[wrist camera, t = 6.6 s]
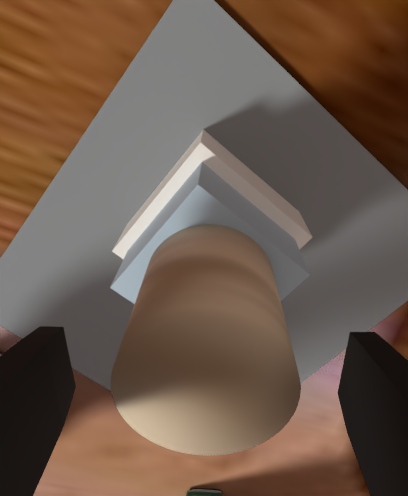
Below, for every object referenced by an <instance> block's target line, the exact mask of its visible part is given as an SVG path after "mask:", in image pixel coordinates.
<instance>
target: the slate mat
mask: <svg viewBox="0 0 408 496" xmlns="http://www.w3.org/2000/svg"><path fill="white" fill-rule="evenodd" d="M203 129H204V130H205V131H206V132H207V133H208V134H210V135H211V136H212V137H213V138H214V139H215V140H217V141H218V142H219V143H220V144H221V145H222V146H223V147H225V148H226V149H227V150H228V151H229V152H230V153H232V154H233V155H234V156H235V157H236V158H237V159H239V160H240V161H241V162H242V163H243V164H244V165H246V166H247V167H248V168H249V169H250V170H251V171H253V172H254V173H255V174H256V175H257V176H258V177H260V178H261V179H262V180H263V181H264V182H265V183H267V184H268V185H269V186H270V187H271V188H272V189H273V190H275V191H276V192H277V193H278V194H279V195H280V196H282V197H283V198H284V199H285V200H286V201H287V202H289V203H290V204H291V205H292V206H293V207H294V208H296V209H297V210H298V211H299V212H300V214H301V216H302V218H303V220H304V222H305V224H306V226H307V228H308V229H309V231H310V233H311V235H312V238H311V239H310V240H309V241H308V242H307V243H306V244H305V245H304V246H303V247H302V248H301V249H300V252H301V255H302V257H303V260H304V262H305V264H306V267H307V269H308V271H309V274H310V276H308V277H307V278H306V279H305V280H304V281H303V282H302V283H301V284H299V285H298V286H297V287H296V288H295V289H294V290H293V291H292V292H291V293H289V294H288V295H287V296H286V297H285V298H284V299H283V300H282V301H281V305H282V309H283V313H284V317H285V321H286V325H287V329H288V333H289V337H290V341H291V345H292V349H293V353H294V357H295V361H296V365H297V369H298V373H299V377H300V383H301V382H303V381H304V380H305V379H307V378H308V377H309V376H310V375H312V374H313V373H314V372H316V371H317V370H318V369H320V368H321V367H322V366H323V365H325V364H326V363H327V362H329V361H330V360H331V359H332V358H334V357H335V356H336V355H338V354H339V353H340V352H342V351H343V350H344V349H345V348H347V344H348V339H349V334H350V332H368V331H369V330H370V329H371V328H373V327H374V326H375V325H377V324H378V323H379V322H381V321H382V320H383V319H384V318H386V317H387V316H388V315H390V314H391V313H392V312H394V311H395V310H396V309H397V308H399V307H400V306H401V305H403V304H404V303H405V302H407V301H408V190H407V189H406V188H405V187H404V186H403V185H402V184H401V183H400V182H399V181H398V180H397V179H396V178H395V177H394V176H393V175H392V174H391V173H390V172H389V171H388V170H387V169H386V168H385V167H384V166H383V165H382V164H381V163H380V162H379V161H378V160H377V159H376V158H375V157H374V156H373V155H372V154H371V153H369V152H368V151H367V150H366V149H365V148H364V147H363V146H362V145H361V144H360V143H359V142H358V141H357V140H356V139H355V138H354V137H353V136H352V135H351V134H350V133H349V132H348V131H347V130H346V129H345V128H344V127H343V126H342V125H341V124H340V123H339V122H338V121H337V120H336V119H335V118H334V117H333V116H332V115H331V114H330V113H329V112H328V111H327V110H326V109H325V108H324V107H322V106H321V105H320V104H319V103H318V102H317V101H316V100H315V99H314V98H313V97H312V96H311V95H310V94H309V93H308V92H307V91H306V90H305V89H304V88H303V87H302V86H301V85H300V84H299V83H298V82H297V81H296V80H295V79H294V78H293V77H292V76H291V75H290V74H289V73H288V72H287V71H286V70H285V69H284V68H283V67H282V66H281V65H280V64H279V63H278V62H276V61H275V60H274V59H273V58H272V57H271V56H270V55H269V54H268V53H267V52H266V51H265V50H264V49H263V48H262V47H261V46H260V45H259V44H258V43H257V42H256V41H255V40H254V39H253V38H252V37H251V36H250V35H249V34H248V33H247V32H246V31H245V30H244V29H243V28H242V27H241V26H240V25H239V24H238V23H237V22H236V21H235V20H234V19H233V18H232V17H231V16H229V15H228V14H227V13H226V12H225V11H224V10H223V9H222V8H221V7H220V6H219V5H218V4H217V3H216V2H215V1H214V0H173V1H172V3H171V4H170V6H169V7H168V9H167V10H166V12H165V13H164V15H163V16H162V18H161V19H160V21H159V22H158V24H157V25H156V27H155V28H154V30H153V31H152V33H151V34H150V36H149V37H148V39H147V40H146V42H145V43H144V45H143V46H142V48H141V49H140V51H139V52H138V54H137V55H136V57H135V58H134V60H133V61H132V63H131V64H130V66H129V67H128V69H127V70H126V72H125V73H124V75H123V76H122V78H121V79H120V81H119V82H118V84H117V85H116V87H115V88H114V90H113V91H112V93H111V94H110V96H109V97H108V99H107V100H106V102H105V103H104V105H103V106H102V108H101V109H100V111H99V112H98V114H97V115H96V117H95V118H94V120H93V121H92V123H91V124H90V125H89V127H88V128H87V130H86V131H85V133H84V134H83V136H82V137H81V139H80V140H79V142H78V143H77V145H76V146H75V148H74V149H73V151H72V152H71V154H70V155H69V157H68V158H67V160H66V161H65V163H64V164H63V166H62V167H61V169H60V170H59V172H58V173H57V175H56V176H55V178H54V179H53V181H52V182H51V184H50V185H49V187H48V188H47V190H46V191H45V193H44V194H43V196H42V197H41V199H40V200H39V202H38V203H37V205H36V206H35V208H34V209H33V211H32V212H31V214H30V215H29V217H28V218H27V220H26V221H25V223H24V224H23V226H22V227H21V229H20V230H19V232H18V233H17V235H16V236H15V238H14V239H13V241H12V242H11V244H10V245H9V247H8V248H7V250H6V251H5V253H4V254H3V256H2V257H1V259H0V326H2V327H3V328H5V329H7V330H8V331H10V332H12V333H13V334H15V335H17V336H18V337H20V338H22V339H23V338H24V337H26V336H27V335H28V334H30V333H31V332H33V331H34V330H35V329H37V328H38V327H40V326H51V327H64V332H65V337H66V342H67V347H68V352H69V357H70V362H71V367H72V368H73V369H74V370H76V371H78V372H79V373H81V374H83V375H84V376H86V377H88V378H89V379H91V380H93V381H95V382H96V383H98V384H100V385H101V386H103V387H105V388H106V389H108V390H110V391H111V373H112V368H113V365H114V363H115V360H116V357H117V354H118V351H119V348H120V345H121V342H122V339H123V336H124V334H125V331H126V328H127V325H128V322H129V319H130V316H131V313H132V310H133V307H134V304H133V303H132V302H131V301H129V300H128V299H126V298H125V297H123V296H122V295H120V294H119V293H117V292H116V291H114V290H113V289H111V288H110V287H111V285H112V283H113V280H114V278H115V276H116V274H117V272H118V270H119V268H120V266H121V264H122V262H123V259H122V258H121V257H119V256H118V255H116V254H115V253H113V252H112V250H113V248H114V247H115V245H116V243H117V241H118V239H119V238H120V236H121V234H122V232H123V230H124V229H125V227H126V225H127V224H128V222H129V221H130V220H131V219H132V217H133V216H134V215H135V214H136V212H137V211H138V210H139V209H140V207H141V206H142V205H143V204H144V203H145V201H146V200H147V199H148V198H149V196H150V195H151V194H152V193H153V191H154V190H155V189H156V188H157V186H158V185H159V184H160V183H161V181H162V180H163V179H164V178H165V176H166V175H167V174H168V173H169V171H170V170H171V169H172V168H173V166H174V165H175V164H176V163H177V161H178V160H179V159H180V158H181V156H182V155H183V154H184V153H185V152H186V150H187V149H188V148H189V147H190V145H191V144H192V143H193V142H194V140H195V139H196V138H197V137H198V135H199V134H200V133H201V132H202V130H203Z"/></svg>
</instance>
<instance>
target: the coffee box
mask: <svg viewBox="0 0 408 496" xmlns="http://www.w3.org/2000/svg"><path fill="white" fill-rule="evenodd" d="M186 496H222V492H221V491H218V490H206V489H192V490H190V491H187V494H186Z"/></svg>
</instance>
